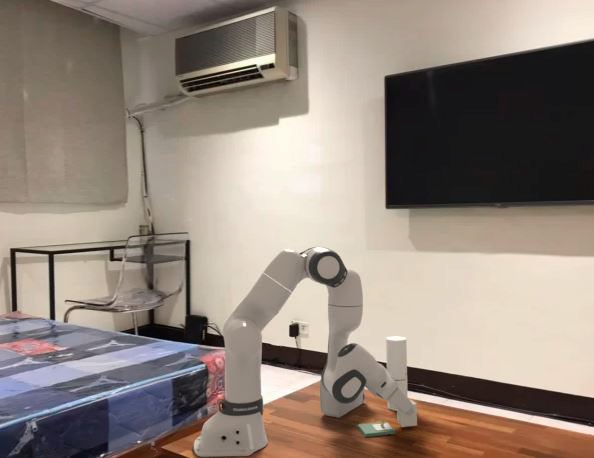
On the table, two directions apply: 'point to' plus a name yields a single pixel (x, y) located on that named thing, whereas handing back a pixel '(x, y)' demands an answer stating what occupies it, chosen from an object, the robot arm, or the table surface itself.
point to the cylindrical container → (397, 363)
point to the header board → (376, 429)
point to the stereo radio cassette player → (337, 403)
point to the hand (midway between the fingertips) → (408, 409)
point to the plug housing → (407, 416)
